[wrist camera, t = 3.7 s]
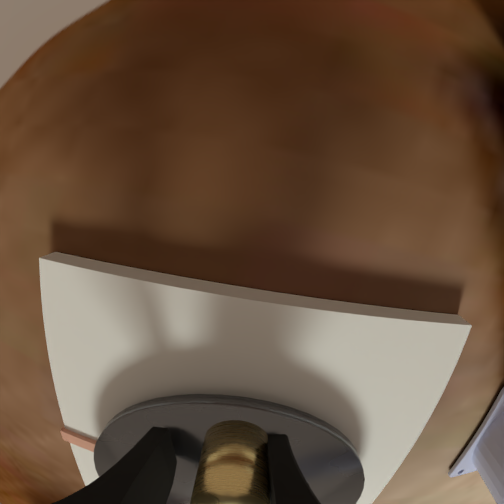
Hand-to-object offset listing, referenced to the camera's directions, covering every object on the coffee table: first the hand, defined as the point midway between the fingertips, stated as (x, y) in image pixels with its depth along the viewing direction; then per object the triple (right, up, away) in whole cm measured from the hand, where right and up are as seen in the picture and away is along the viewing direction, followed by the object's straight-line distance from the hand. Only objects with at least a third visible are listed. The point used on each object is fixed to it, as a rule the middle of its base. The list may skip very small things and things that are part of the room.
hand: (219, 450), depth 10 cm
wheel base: (0, -4, +4) cm, 6 cm away
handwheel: (0, -4, +2) cm, 5 cm away
